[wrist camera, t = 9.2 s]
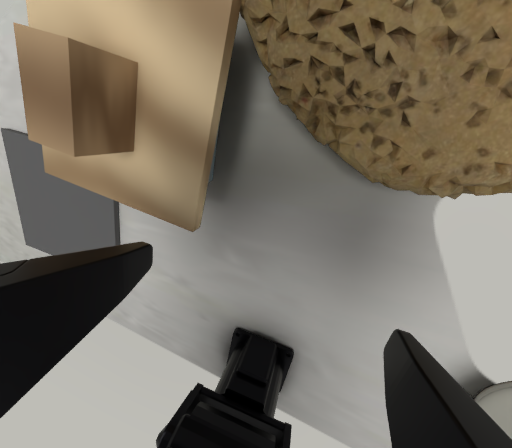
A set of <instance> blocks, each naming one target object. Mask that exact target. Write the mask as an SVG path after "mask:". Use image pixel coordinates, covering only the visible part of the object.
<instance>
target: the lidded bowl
mask: <svg viewBox="0 0 512 448" xmlns="http://www.w3.org/2000/svg"><path fill="white" fill-rule="evenodd" d="M474 400H475V401H476V402H477V404H478V405H479V406H480V407H481V408H482V409H483V410H484V411H485V412H486V413H487V414H488V415H489V416H490V417H491V418H492V419H493V420H494V421H495V422H496V423H497V424H498V425H499V427H500V428H501V429H502V430H503V431H504V432H505V433H506V434H507V435H508V436H509V437H510V438H511V439H512V381H508V382H503V383H499V384H495V385H492V386H490V387H488V388H486V389H484V390H483V391H481V392H480V393H479V394H478V395H477V396H476V397H475V399H474Z"/></svg>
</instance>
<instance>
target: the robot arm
mask: <svg viewBox="0 0 512 448" xmlns="http://www.w3.org/2000/svg"><path fill="white" fill-rule="evenodd" d="M152 261H153V247H152V245H150V244H148V243H145V242H136V243H130V244H124V245H117V246H111V247H104V248H98V249H92V250H85V251H79V252H73V253H66V254H60V255H54V256H47V257H41V258H35V259H30V260H22V261H15V262H9V263H2V264H0V418H1V417H2V416H3V415H4V414H5V413H6V412H8V410H10V408H12V407H13V406H14V405H15V404H16V403H17V402H18V401H19V400H20V399H21V398H22V397H23V396H24V395H25V394H26V393H27V392H28V391H29V390H30V389H31V388H32V387H33V386H34V385H35V384H36V383H38V382H39V381H40V379H42V378H43V376H45V374H47V373H48V372H49V371H50V370H51V369H52V368H53V367H54V366H55V365H56V364H57V363H58V362H59V361H60V360H61V359H62V358H63V357H64V356H65V355H66V354H68V353H69V352H70V351H71V350H72V349H73V348H74V347H75V346H76V345H77V344H78V343H79V342H80V341H81V340H82V339H83V338H84V337H85V336H86V335H87V334H88V333H89V332H90V331H91V330H92V329H93V328H94V327H95V326H96V325H98V323H100V322H101V321H102V320H103V319H104V318H105V317H106V316H107V315H108V314H109V313H110V312H111V311H112V310H113V309H114V308H115V307H116V306H117V305H118V304H119V303H120V302H121V301H122V300H123V299H124V298H125V297H126V296H127V295H128V294H129V293H130V292H131V290H132V289H133V288H134V287H135V286H136V285H137V283H138V282H139V281H140V280H141V279H142V277H143V276H144V275H145V274H146V273H147V272H148V270H149V269H150V268H151V266H152ZM238 333H239V334H238ZM288 353H289V354H288ZM293 356H294V352H293V350H292V349H290V348H287V347H285V346H282V345H280V344H277V343H275V342H272V341H270V340H267V339H265V338H262V337H260V336H257V335H255V334H252V333H250V332H247V331H245V330H242V329H240V328H236V329H235V331H234V333H233V337H232V342H231V347H230V351H229V356H228V361H227V365H226V368H225V370H224V372H223V374H222V377H221V379H220V381H219V383H218V385H217V388H216V390H215V392H214V391H212V390H210V389H208V388H206V387H203V385H202V384H199V383H198V384H197V385H196V386H195V388H194V389H193V391H190V393H189V395H188V396H187V397H186V399H185V400H184V402H183V403H182V405H181V406H180V407H179V409H178V410H177V412H176V413H175V415H174V416H173V418H172V419H171V420H170V422H169V423H168V424H167V425H166V426H165V428H164V429H163V430H162V431H161V432H160V433H159V435H158V437H157V440H156V445H157V448H290V439H291V425H290V424H288V423H286V422H285V423H283V422H281V421H278V420H276V419H274V414H275V409H276V404H277V399H278V395H279V392H280V391H281V389H282V386H283V383H284V381H285V378H286V375H287V373H288V370H289V367H290V364H291V362H292V359H293ZM384 378H385V399H386V409H387V416H388V422H389V429H390V436H391V442H392V448H512V439H511V438H510V437H509V436H508V435H507V434H506V433H505V432H504V431H503V430H502V429H501V428H500V427H499V425H498V424H497V423H496V422H495V421H494V420H493V419H492V418H491V417H490V416H489V415H488V414H487V413H486V412H485V411H484V410H483V409H482V408H481V407H480V406H479V405H478V404H477V402H476V401H475V400H474V399H473V398H472V397H471V396H470V395H469V394H468V393H467V392H466V391H465V390H464V389H463V388H462V387H461V386H460V385H459V384H458V383H457V382H456V381H455V379H454V378H453V377H452V376H451V375H450V374H449V373H448V372H447V371H446V370H445V369H444V368H443V367H442V366H441V365H440V364H439V363H438V362H437V361H436V360H435V359H434V358H433V357H432V355H431V354H430V353H429V352H428V351H427V350H426V349H425V348H424V347H423V346H422V345H421V344H420V343H419V342H418V341H417V340H416V339H415V338H414V337H413V336H412V335H411V334H410V333H408V332H405V331H402V330H399V329H396V330H394V331H393V333H392V335H391V337H390V338H389V340H388V342H387V344H386V345H385V348H384Z"/></svg>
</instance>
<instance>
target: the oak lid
mask: <svg viewBox="0 0 512 448" xmlns="http://www.w3.org/2000/svg"><path fill="white" fill-rule="evenodd" d="M241 1H242V0H26V4H27V13H28V22H29V27H28V26H24V25H21V24H17V23H14V22H13V23H14V31H15V39H16V46H17V54H18V62H19V69H20V77H21V85H22V92H23V100H24V108H25V115H26V123H27V131H28V138H29V140H31V141H34V142H37V143H39V144H42V150H43V160H44V169H45V172H46V173H48V174H51V175H53V176H55V177H58V178H60V179H63V180H65V181H68V182H70V183H73V184H75V185H78V186H80V187H83V188H85V189H88V190H90V191H93V192H95V193H98V194H100V195H102V196H105V197H107V198H110V199H112V200H115V201H117V202H120V203H122V204H125V205H127V206H130V207H132V208H135V209H137V210H140V211H142V212H144V213H147V214H149V215H152V216H154V217H157V218H159V219H162V220H164V221H167V222H169V223H172V224H174V225H177V226H179V227H182V228H184V229H186V230H189V231H191V232H193V231H195V230H196V229H198V228H199V227H200V224H201V219H202V213H203V208H204V202H205V197H206V192H207V186H208V181H209V175H210V170H211V164H212V159H213V154H214V148H215V143H216V137H217V132H218V126H219V121H220V115H221V110H222V105H223V99H224V94H225V88H226V83H227V77H228V72H229V67H230V61H231V56H232V50H233V45H234V39H235V34H236V29H237V23H238V18H239V12H240V7H241Z"/></svg>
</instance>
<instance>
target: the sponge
mask: <svg viewBox="0 0 512 448" xmlns="http://www.w3.org/2000/svg"><path fill="white" fill-rule="evenodd" d="M240 14H241V16H242V18H244V19H245V21H246V24H247V27H248V30H249V33H250V35H251V37H252V39H253V42H254V45H255V47H256V50H257V53H258V55H259V58H260V60H261V62H262V64H263V66H264V67H265V69H266V70H267V71H268V72H271V75H270V76H269V77H268V78H269V80H270V83H271V86H272V88H273V90H274V92H275V93H276V95H277V96H278V97H279V101H280V102H281V103H282V104H283V105H288V106H289V108H290V109H291V110H292V111H293V112H294V113H295V114H296V117H297V120H298V119H299V120H300V121H301V122H302V123H303V124H304V125H305V126H306V128H307V129H308V131H309V132H310V133H311V134H312V135H313V137H314V138H315V139H316V140H317V141H318V142H321V143H322V144H323V145H326V144H329V146H330V147H331V148H332V149H333V150H334V151H335V152H336V153H337V154H338V155H339V156H340V157H341V158H342V159H343V160H344V161H345V162H347V163H348V164H350V165H351V166H352V167H354V168H355V169H356V170H358V171H359V172H360V173H361V174H362V175H364V176H365V177H366V178H367V179H369V180H370V181H371V182H372V183H375V182H380V183H382V184H383V185H384V186H386V187H389V188H392V189H394V190H410V191H412V192H414V193H416V194H418V195H438V196H440V197H441V198H443V197H445V196H448V197H451V198H453V199H456V198H457V197H458V196H460V195H461V194H462V193H468V194H474V195H476V196H479V195H493V194H497V193H512V0H242V1H241V7H240Z"/></svg>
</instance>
